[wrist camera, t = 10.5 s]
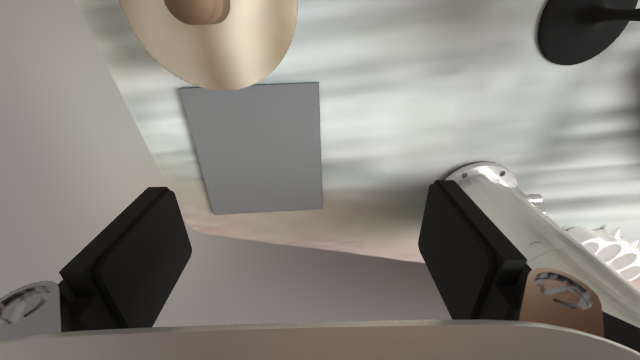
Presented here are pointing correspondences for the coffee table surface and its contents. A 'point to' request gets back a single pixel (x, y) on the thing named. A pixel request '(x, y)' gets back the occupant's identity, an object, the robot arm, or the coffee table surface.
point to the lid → (214, 38)
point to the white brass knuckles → (611, 249)
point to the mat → (258, 146)
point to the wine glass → (582, 27)
